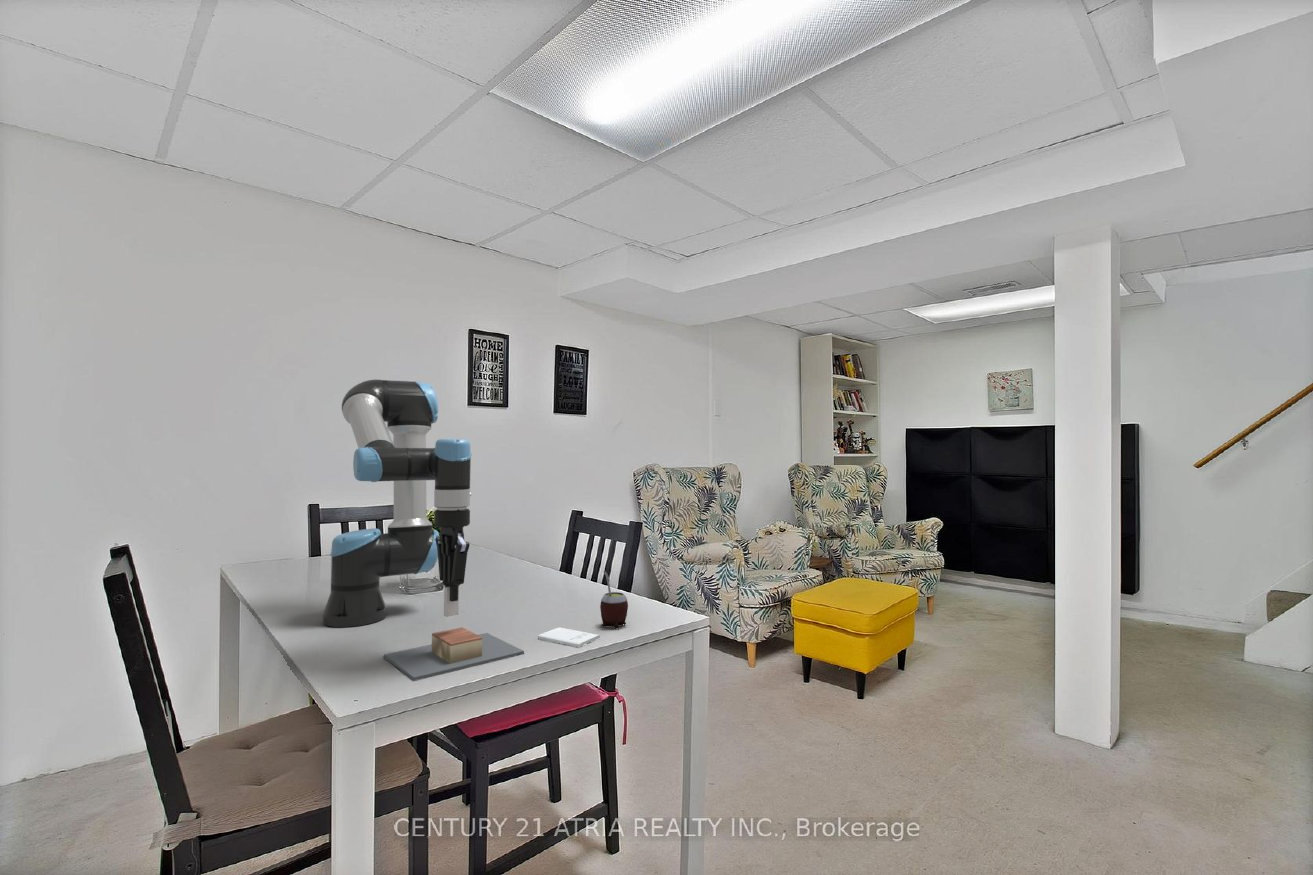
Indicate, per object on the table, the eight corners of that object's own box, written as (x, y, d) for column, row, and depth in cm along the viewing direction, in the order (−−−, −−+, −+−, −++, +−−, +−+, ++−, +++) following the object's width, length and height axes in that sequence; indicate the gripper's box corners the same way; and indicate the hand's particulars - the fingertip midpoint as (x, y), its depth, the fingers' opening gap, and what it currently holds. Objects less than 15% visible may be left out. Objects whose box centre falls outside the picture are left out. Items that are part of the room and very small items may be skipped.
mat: (383, 657, 131) (383, 654, 131) (486, 635, 147) (487, 632, 147) (414, 680, 118) (414, 677, 118) (524, 653, 134) (524, 650, 134)
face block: (432, 633, 133) (450, 644, 126) (462, 627, 138) (482, 637, 131) (431, 651, 133) (450, 663, 126) (462, 644, 138) (482, 656, 131)
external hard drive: (559, 633, 152) (600, 640, 145) (537, 641, 145) (579, 650, 138) (559, 626, 152) (600, 633, 145) (537, 635, 145) (579, 643, 138)
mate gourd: (623, 620, 160) (623, 563, 161) (632, 629, 153) (632, 569, 153) (595, 623, 158) (596, 565, 158) (603, 631, 151) (603, 571, 151)
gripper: (481, 509, 133) (480, 617, 132) (456, 505, 142) (455, 606, 142) (447, 511, 128) (446, 624, 127) (424, 507, 137) (423, 612, 137)
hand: (451, 614), depth 134 cm, fingers closed
